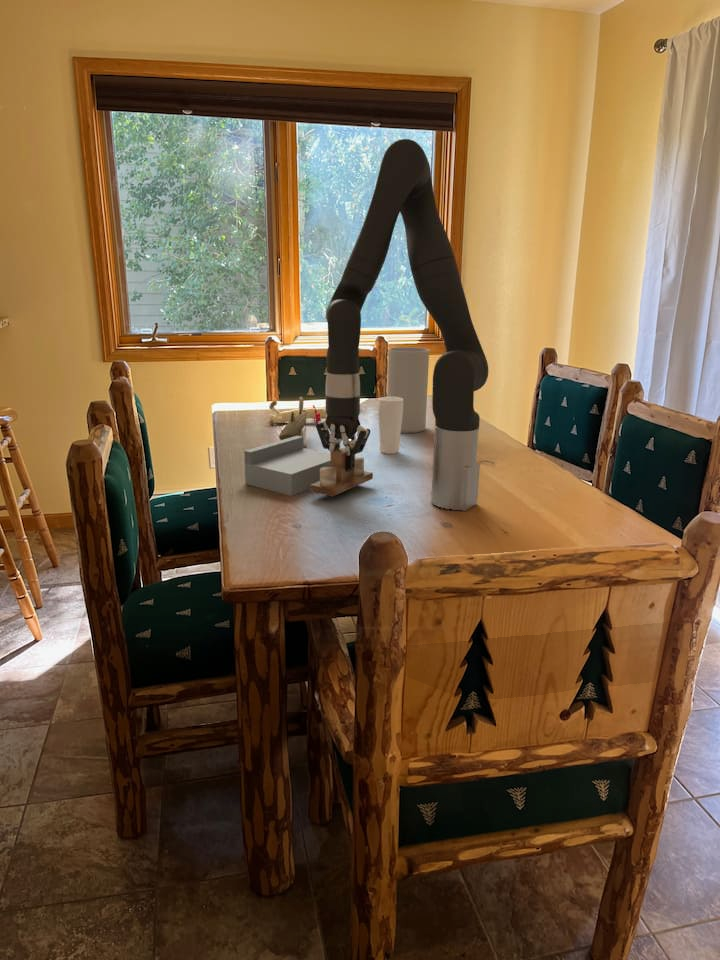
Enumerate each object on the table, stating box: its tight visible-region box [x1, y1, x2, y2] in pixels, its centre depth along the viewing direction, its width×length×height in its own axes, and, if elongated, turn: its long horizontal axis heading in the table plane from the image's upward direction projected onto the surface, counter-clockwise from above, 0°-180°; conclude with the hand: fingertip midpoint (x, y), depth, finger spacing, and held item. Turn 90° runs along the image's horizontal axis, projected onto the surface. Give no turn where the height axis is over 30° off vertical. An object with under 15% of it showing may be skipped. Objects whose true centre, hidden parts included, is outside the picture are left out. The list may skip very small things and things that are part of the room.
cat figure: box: [269, 400, 327, 426], centre depth 222 cm, size 10×9×25 cm
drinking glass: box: [377, 396, 403, 455], centre depth 188 cm, size 7×7×15 cm
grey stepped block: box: [244, 436, 331, 497], centre depth 163 cm, size 14×19×8 cm
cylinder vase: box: [386, 346, 430, 434], centre depth 214 cm, size 12×12×25 cm
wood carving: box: [278, 396, 308, 449], centre depth 192 cm, size 9×35×11 cm, turn 177°
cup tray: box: [309, 447, 374, 497], centre depth 154 cm, size 16×6×8 cm, turn 146°
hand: (342, 468), depth 154 cm, fingers closed on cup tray, 3 cm apart
